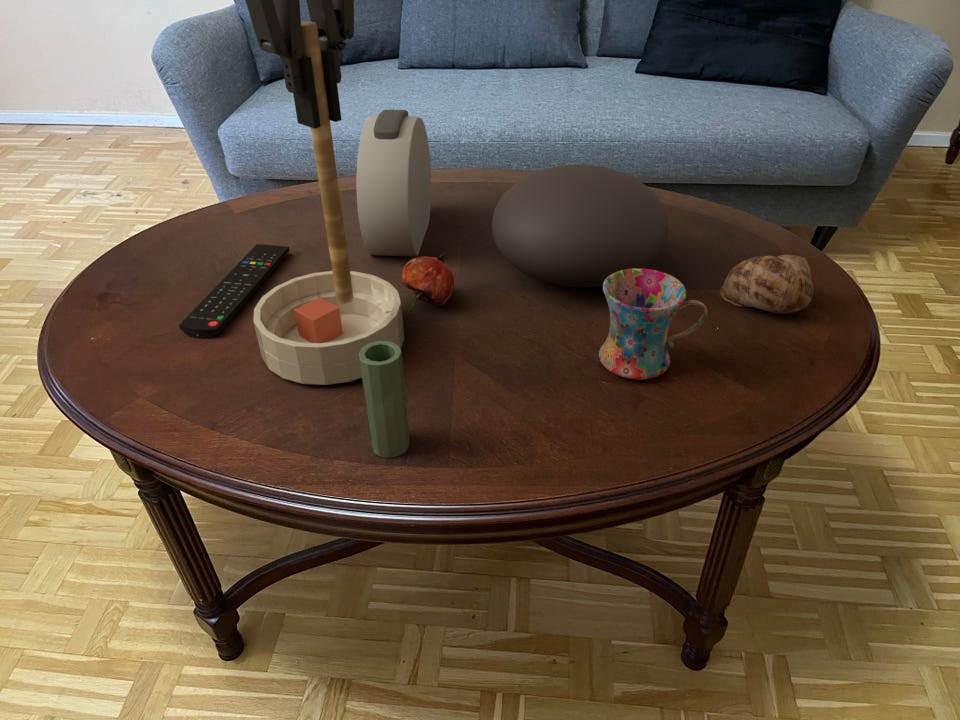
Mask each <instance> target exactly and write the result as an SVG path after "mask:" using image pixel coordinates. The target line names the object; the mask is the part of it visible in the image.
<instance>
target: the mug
mask: <svg viewBox="0 0 960 720" xmlns="http://www.w3.org/2000/svg"><path fill="white" fill-rule="evenodd" d="M602 291H603V294H604V297H605V299H606V302H607V306H608V311H609V329H608V333H607V336H606V339H605V341H604V343H603V344H602V345H601V347H600V349H599V351H598V357H599V361H600V362H601V364H602V366H603V367H604V368H605V369H606V370H607V371H608V372H610V373H612V374H613V375H615V376H618V377H620V378H624V379H630V380H639V381H640V380H641V381H643V380H651V379H655V378H657V377H660V376H661V375H663V374H665V372H667V370H668V369H669V367H670V365H671V356H670V354H669V350H668V346H669V347H670V348H674V343H673V342H672V341H675V340H678V339H682V338H684V337H685V336H688V335H690V334H691V333H693V332H694V331H696V330H697V329H698V328H699V327H700V326H701V325H702V324H703V323H704V321H706V318H707V316H708V308H707V306H706V305H705V303H703V302H702V301H699V300H696V299H689V300H686V299H687V289H686V287H685V285H684V284H683V283H682V282H681V281H680V280H679V279H678V278H676V277H675V276H673V275H671V274H669V273H666V272H663V271H660V270H656V269H651V268H645V269H626V270H621V271H618V272H615V273H613V274H611V275H610V276H608V277H607V278H606V279H605V281H604V283H603V285H602ZM685 300H686V301H685ZM689 306H698V307H700V308H701V309H702V311H703V313H702V315H701V316H700V318H699V319H698V320H697V321H696V322H695V323H694V324H693V325H691V326H690V327H689V328H687V329H686V330H684V331H681V332H679V333H675V334H673V335H670V336H668V334H669V333H668V332H669V329H670V326H671V324H672V321H673V318H675V317H676V316H677V314H678V313H679V312H680V311H681V310H682V309H684V308H685V307H689Z"/></svg>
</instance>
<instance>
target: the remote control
mask: <svg viewBox="0 0 960 720" xmlns="http://www.w3.org/2000/svg"><path fill="white" fill-rule="evenodd" d="M290 251H291V250H290V246H285V245H274V244H273V245H272V244H260V243H256V244H255V245H254V246H253V247H252V249H250V251H248V253H246V254H245V256H243V258H242V259H241V260H240V261H239V262H237V264H236V265H235V266H234V267H233V268H232V269H231V270H230V271H229V272H228V273H227V274H226V276H225V277H223V279H221V281H220V282H219V283H218V284H216V286H215V287H214V288H213V289H212V290H211V291H210V293H208V295H206V296H205V297H204V298H203V300H201V302H200V303H198V305H197V306H196V307H195V308H194V309H193V310H192V311H191V312H190V313H189V314H188V315H187V316H186V317H185V318H184V319H183V320H182V321H181V322H180V323H179V324H178V327H179V330H180V331H181V332H183V333H184V334H186V335H187V336H189V337H191V338H196V339H209V338H211V337H213V336H216V335H218V334H220V332H221V331H222V330H223V329H224V327H225V326H226V325H227V324H228V323H229V322H230V320H231V319H233V317H234V316H235V315H236V314H237V313H238V311H239V310H240V309H241V308H242V307H243V305H244V304H245V303H246V302H247V301H248V300H249V298H250V297H251V296H253V294H254V293H255V292H256V291H257V289H258V288H259V287H260V286H261V285H262V284H263V282H264V281H265V280H266V279H267V278H268V276H269V275H270V274H271V273H273V271H274V270H275V268H277V266H279V264H280V263H281V261H282V260H283V259H284V258H285V257H286V256H287V255H288V254H289V252H290Z"/></svg>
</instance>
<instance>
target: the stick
mask: <svg viewBox="0 0 960 720" xmlns="http://www.w3.org/2000/svg"><path fill="white" fill-rule="evenodd" d="M301 31H302V45H303V56H308V57H311V61H312V68H313V75H314V82H315V89H316V96H317V103H318V110H319V117H320V125H321V127H319V128H315V129H314V128H311V127H310V133H311V139H312V145H313V153H314V159H315V160H314V161H315V166H316V172H317V180H318V186H319V187H318V188H319V193H320V199H321V200H320V201H321V207H322V212H323V220H324V226H325V232H326V239H327V246H328V252H329V258H330V265H331V271H332V273H333V280H334V286H335V293H336V300H337V302H338V303H340V304H348V303H350V302H352V301H353V300H354V297H353V289H352V282H351V274H350V271H351V268H350V261H349V260H350V259H349V253H348V246H347V245H348V244H347V238H346V232H345V224H344V215H343V207H342V199H341V193H340V187H339V186H340V185H339V178H338V170H337V162H336V156H335V148H334V139H333V134H332V133H333V132H332V126H331V120H330V118H329V110H328V103H327V95H326V88H325V80H324V73H323V65H322V58H321V50H320V43H319V35H318V28H317V23H315V22H311V21H301Z"/></svg>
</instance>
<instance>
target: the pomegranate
mask: <svg viewBox="0 0 960 720" xmlns="http://www.w3.org/2000/svg"><path fill="white" fill-rule="evenodd" d="M446 255H447V253H446V251H443V252H442V253H441V255H440V256H438V257H434V256H426V255H422V256H416V257H412V258H411V259H410V260H408V261H407V262H406V263H405V265H404V267H403V269H402V275H401V277H402V279H401V281H402V285H403V287H405V288H407V289H408V290H411V292H412V294H413V295H414V297H416V298H415V299H414V301H413V303H412V305H411V306H410V307H409V309H408V310H407V312H406V315H407V316H409V314H410V313H411V312H412V310H413V308H415V307H416V306H417V302H418V301H419V300H423V301H427V302H431V303H432V304H433V305H435V306H437V307H443V306H444V305H445V304H446V303H448V301H449V300H450V299H451V297H452V295H453V292H454V290H455V277H454V274H453V271H452V270H451V268H450V267H448V265H447V263H446V262H445V257H446Z"/></svg>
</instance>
